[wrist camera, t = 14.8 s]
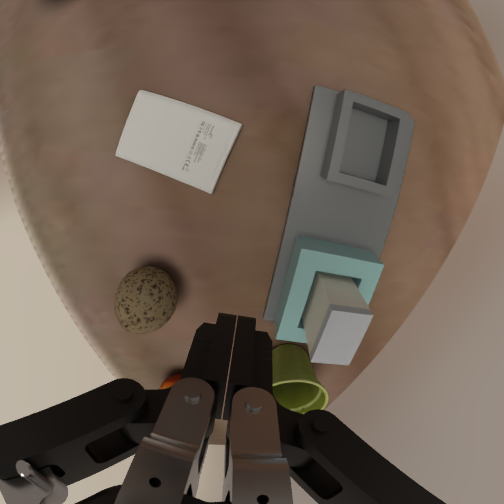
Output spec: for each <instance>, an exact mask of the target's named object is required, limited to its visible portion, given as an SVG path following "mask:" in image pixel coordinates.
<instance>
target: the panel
mask: <svg viewBox="0 0 504 504" xmlns="http://www.w3.org/2000/svg"><path fill="white" fill-rule="evenodd" d="M409 115H410V113H407V112H405V111H403V110H401V109H398V108H396V107H393V106H391V105H388V104H386V103H383V102H381V101H378V100H375V99H373V98H370V97H367V96H364V95H361V94H359V93H356V92H353V91H349V90H346V89H345V90H343V91H341V92H339V91H336V90H332V89H329V88H325V87H322V86H318V85H315V86H314V88H313V94H312V99H311V104H310V109H309V114H308V120H307V125H306V130H305V135H304V139H303V144H302V149H301V154H300V159H299V164H298V168H297V173H296V178H295V182H294V187H293V191H292V196H291V200H290V205H289V209H288V214H287V218H286V223H285V227H284V231H283V236H282V240H281V244H280V249H279V253H278V257H277V261H276V265H275V270H274V274H273V278H272V282H271V286H270V290H269V294H268V298H267V302H266V306H265V310H264V314H263V320H268V321H274V322H275V334H276V339H279V340H286V341H293V342H301V343H307V340H306V335H305V329H304V324H303V319H302V313H303V310H304V307H305V304H306V301H307V298H308V295H309V291H310V288H311V285H312V282H313V279H314V275H315V272H316V271H321V272H326V273H332V274H337V275H343V276H349V277H351V278H352V280H353V281H354V283H355V285H356V286H357V288H358V290H359V291H360V293H361V295H362V297H363V298H364V300H365V302H366V303H367V305H369V302H370V300H371V298H372V295H373V293H374V290H375V288H376V285H377V283H378V280H379V277H380V275H381V272H382V270H383V267H384V264H383V263H382V262H381V261H380V260H379V258H380V255H381V252H382V249H383V246H384V243H385V240H386V237H387V234H388V231H389V228H390V224H391V221H392V218H393V214H394V211H395V207H396V204H397V200H398V196H399V193H400V189H401V185H402V181H403V177H404V172H405V168H406V163H407V159H408V154H409V149H410V144H411V139H412V133H413V128H414V121H415V120H414V119H412V118H410V117H409Z"/></svg>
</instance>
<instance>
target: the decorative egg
mask: <svg viewBox="0 0 504 504" xmlns="http://www.w3.org/2000/svg"><path fill="white" fill-rule="evenodd" d="M176 304H177V290H176V287H175V284H174V282H173V280H172V279H171V277H170V276H169V275H168V274H167V273H166V272H164V271H163V270H161V269H159V268H157V267H153V266H143V267H139V268H136V269H134V270H132V271H130V272H129V273H128V274H127V275H126V276H125V277H124V278H123V279H122V281H121V282H120V284H119V286H118V288H117V291H116V295H115V312H116V316H117V319H118V321H119V323H120V325H121V326H122V327H123V328H124V329H125V330H126V331H128V332H131V333H136V334H144V333H150V332H153V331H155V330H157V329H159V328H161V327H162V326H163V325H165V324H166V323H167V322H168V321H169V319H170V318H171V316H172V315H173V313H174V311H175V308H176Z"/></svg>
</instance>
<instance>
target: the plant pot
mask: <svg viewBox="0 0 504 504" xmlns="http://www.w3.org/2000/svg"><path fill="white" fill-rule="evenodd" d="M272 364H273V394H274V397H275V399H276V400H277V401H278V402H279V403H280V404H281V405H282V406H283V407H285V408H287V409H289V410H292V411H295V412H298V413H301V414H305V413H306V412H308V411H310V410H315V409H320V410H323V409H324V408H325V406H326V405H327V402H328V393H327V391H326V389H325V388H324V387H323V386H322V385H321V384H320V382H319V381H318V380H317V378H316V375H315V373H314V370H313V368H312V365H311V363H310V360H309V357H308V355H307V353H306V352H305V351H304V350H303V349H302V348H301V347H300V346H298V345H294V344H283V345H279V346H278V347H276V348H275V349H273V350H272Z"/></svg>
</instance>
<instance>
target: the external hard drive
mask: <svg viewBox="0 0 504 504" xmlns="http://www.w3.org/2000/svg"><path fill="white" fill-rule="evenodd" d="M242 126H243V125H242V124H240V123H238V122H235V121H233V120H230V119H228V118H225V117H223V116H220V115H217V114H215V113H212V112H210V111H207V110H204V109H201V108H199V107H196V106H193V105H190V104H187V103H184V102H181V101H178V100H175V99H172V98H168V97H165V96H162V95H159V94H155V93H152V92H148V91H144V90H140V91H139V92H138V94H137V96H136V99H135V101H134V104H133V106H132V108H131V111H130V114H129V116H128V119H127V121H126V124H125V127H124V129H123V132H122V135H121V138H120V141H119V144H118V147H117V150H116V154H115V155H116V156H118V157H120V158H123V159H125V160H128V161H131V162H133V163H136V164H138V165H141V166H144V167H146V168H149V169H151V170H154V171H156V172H159V173H161V174H164V175H166V176H169V177H171V178H174V179H176V180H179V181H181V182H183V183H186V184H188V185H191V186H193V187H195V188H198V189H200V190H203V191H205V192H207V193H210V194H212V193H213V191H214V188H215V186H216V184H217V181H218V179H219V177H220V174H221V172H222V170H223V167H224V165H225V162H226V160H227V158H228V155H229V153H230V152H231V149H232V147H233V145H234V143H235V141H236V138H237V136H238V134H239V132H240V130H241V128H242Z"/></svg>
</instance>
